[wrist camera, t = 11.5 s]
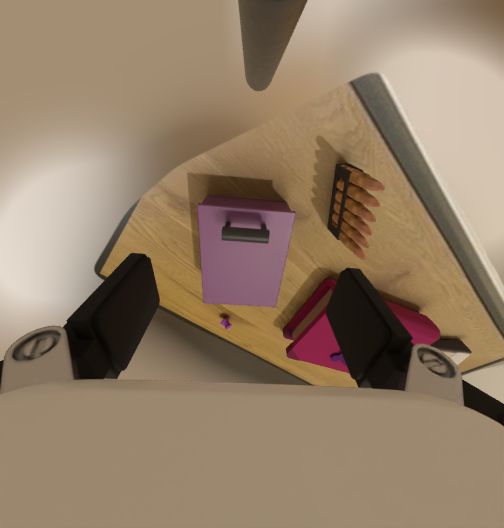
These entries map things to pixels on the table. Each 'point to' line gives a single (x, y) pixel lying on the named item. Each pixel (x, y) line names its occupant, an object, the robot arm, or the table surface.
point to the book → (322, 337)
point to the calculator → (453, 349)
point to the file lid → (243, 253)
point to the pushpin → (226, 323)
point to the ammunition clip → (352, 207)
